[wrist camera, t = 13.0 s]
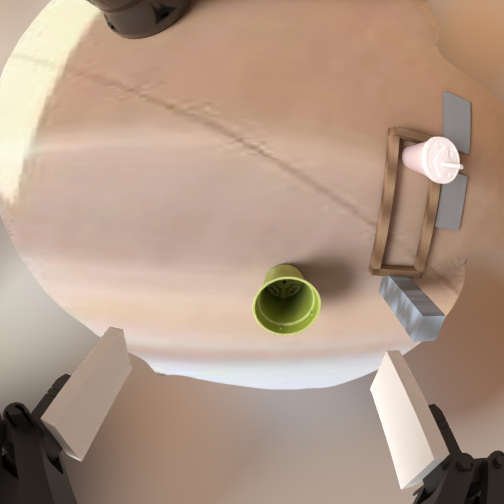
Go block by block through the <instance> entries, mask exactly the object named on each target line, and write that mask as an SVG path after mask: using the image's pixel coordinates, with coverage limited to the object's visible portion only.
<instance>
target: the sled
mask: <svg viewBox="0 0 504 504" xmlns="http://www.w3.org/2000/svg"><path fill="white" fill-rule="evenodd" d="M430 138H432V136H429V135H426V134H422V133H419V132H415V131H412V130H408V129H405V128H401V127H394V128H389V129H388V144H387V156H386V167H385V176H384V185H383V193H382V200H381V207H380V214H379V220H378V226H377V232H376V237H375V243H374V248H373V253H372V258H371V263H370V268H369V272H370V273H371V274H372V275H376V276H383V279H382V283H381V287H380V291H379V292H380V294H381V295H382V296H383V298H384V299H385V301H386V302H387V304H388V305H389V306H390V308H391V309H392V311H393V312H394V314H395V315H396V317H397V318H398V320H399V321H400V323H401V324H402V326H403V327H404V329H405V330H406V332H407V333H408V335H409V336H410V338H411V339H412V341H413V342H419V341H433V340H436V338H437V335H438V333H439V330H440V328H441V326H442V323H443V321H444V318H445V315H444V314H443V312H442V311H441V310H440V309H439V308H438V307H437V306H436V305H435V304H434V303H433V302H432V301H431V299H430V298H429V297H428V296H427V295H426V294H425V293H424V292H423V291H422V290H421V289H420V288H419V287H418V286H417V285H416V284H415V283H414V282H413V281H412V280H411V279H410V278H422V275H423V271H424V267H425V263H426V259H427V255H428V251H429V247H430V242H431V238H432V233H433V228H434V223H435V218H436V212H437V206H438V200H439V193H440V186H441V183H440V184H439V183H436V182H434V181H432V180H431V179H430V183H429V191H428V198H427V205H426V211H425V216H424V222H423V227H422V232H421V237H420V242H419V246H418V251H417V255H416V259H415V263H414V267H400V266H387V265H381V263H382V259H383V254H384V249H385V244H386V239H387V234H388V228H389V223H390V217H391V210H392V204H393V197H394V189H395V181H396V173H397V163H398V152H399V139H403V140H407V141H411V142H415V143H418V144H419V143H422V142H426V141H428V140H429V139H430Z"/></svg>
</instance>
